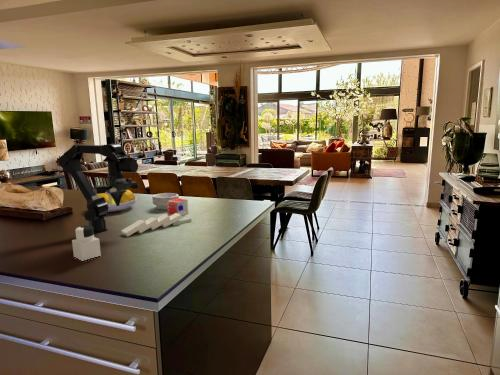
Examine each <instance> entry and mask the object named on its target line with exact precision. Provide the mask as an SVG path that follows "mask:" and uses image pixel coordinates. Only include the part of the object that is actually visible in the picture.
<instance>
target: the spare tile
mask: <svg viewBox="0 0 500 375" xmlns="http://www.w3.org/2000/svg"><path fill="white" fill-rule="evenodd" d="M192 221H193V220H192V218H191V217H188V216H184V217H183V216H182V219H180V220H178V221H176V222H174V223H172V224H171V226H179V225H182V224H187V223H191V222H192Z"/></svg>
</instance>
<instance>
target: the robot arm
mask: <svg viewBox="0 0 500 375" xmlns="http://www.w3.org/2000/svg"><path fill="white" fill-rule="evenodd" d="M84 154H94V155H95V154H96V155H101V156H103V157H105V158H103V159H102V162H103V163H107V177H108V182H107V184H108V185H103V184H99V185H94V186H92V185H91V184H90V182H89V180H88V179H87V177H86V175H85V174H84V172H83V171H82V162H81V160H82V159H83V157H84V156H83V155H84ZM58 165H59V166H60V167H61V169H62V170H63V171H64V172H66V173H67V174H69V175H70V176H71V178H72V179H73V181H74V183H75V184H76V185H77V188H78V190H80V192H81V194H82V196H83V198H84V199H85V200H86V209H87V212H86V213H85V214H84V220H85V221H87V223H88V226H92V227H93V230H94V234H99V233H101V232H102V233H103V232H106V231H108V228H107V223H106V219H105V217H107V214H108V213H109V212H108V209H109V207H108V205H107V204H108V203H107V202H106V201H105V198H104V197H101V198H100V197H98V196H97V194H101V193H105V194H109V196H112V198H113V200H114V202H115V204H116V206H119V205H120V201H121V198H122V195H123V194H124V192H127V191H126V190H129V189H130V188H131V190H137V189H139V188H140V187H139V186H140V185H139V183H138V182H137V181H133V180H132V178H131V177H127V178H125V177H124V174H123V173H132V174H133V173H134V174H136V173H137V171H138V169H139V163H138V162H137V160H136V158H135V156H130V157H129V156H128V155H127V154H126V152H125V151H124V149H123V146H122V145H121V144H120V143H118V142H117V143H106V144H102V145H99V144H83V143H75V144H73V145H72V146H71V147H70V148H69V149H68V150H66V151H65V152H64V153H63V154H62V155H60V156H59V158H58ZM114 187H115V188H114Z"/></svg>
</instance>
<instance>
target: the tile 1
mask: <svg viewBox="0 0 500 375" xmlns="http://www.w3.org/2000/svg"><path fill="white" fill-rule="evenodd" d="M145 221H146V220H143V219H138V220H137V221H134V222H133V223H132V224H130V225H128V226H127V227H125V228H123V229H121V233H122V235H124V236H126V237H130V236H131V235H133V234H134V233H137V232H136V231H138V230H140V229H141V228H143V227H145V226H146V225H147V224H146V222H145Z"/></svg>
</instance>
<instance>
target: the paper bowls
mask: <svg viewBox="0 0 500 375" xmlns="http://www.w3.org/2000/svg"><path fill="white" fill-rule="evenodd" d="M176 198H178V199H180V198H179V194H178V193H174V192H173V193H172V192H164V193H157V194H153V195H152V204H153V205H154V206H156V208H157V209H158V210H161V211H162V210H164V211H165V210H166V211H167V201H169V200H173V199H176Z"/></svg>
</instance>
